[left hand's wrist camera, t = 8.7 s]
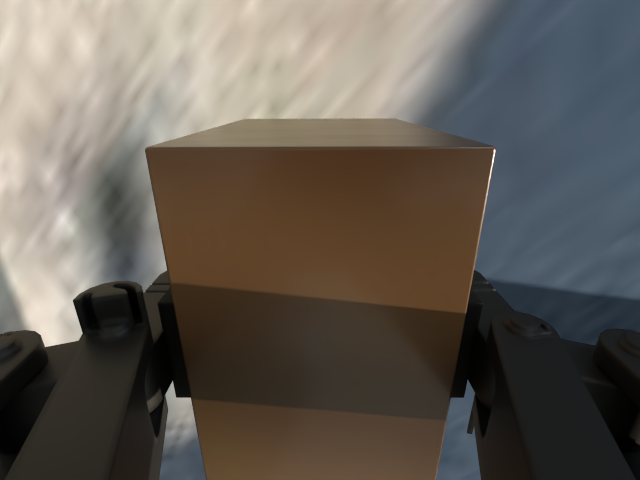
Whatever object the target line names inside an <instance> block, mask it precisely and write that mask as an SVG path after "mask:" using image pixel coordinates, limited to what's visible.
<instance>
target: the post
mask: <svg viewBox="0 0 640 480" xmlns="http://www.w3.org/2000/svg"><path fill="white" fill-rule="evenodd" d="M495 151H496V148H495V147H494V146H491V145H487V144H484V143H480V142H477V141H473V140H470V139H466V138H462V137H459V136H455V135H452V134H448V133H445V132H441V131H438V130H434V129H430V128H427V127H423V126H420V125H416V124H413V123H409V122H405V121H402V120H398V119H243V120H240V121H236V122H233V123H229V124H226V125H222V126H219V127H215V128H212V129H208V130H205V131H202V132H198V133H195V134H191V135H188V136H184V137H181V138H177V139H174V140H170V141H167V142H163V143H160V144H156V145H153V146H149V147H147V148H146V149H145V152H146V158H147V163H148V168H149V174H150V179H151V185H152V190H153V195H154V201H155V206H156V212H157V217H158V222H159V228H160V233H161V238H162V244H163V249H164V255H165V260H166V265H167V271H168V276H169V282H170V287H171V292H172V298H173V303H174V309H175V314H176V319H177V325H178V330H179V335H180V341H181V346H182V352H183V357H184V362H185V368H186V373H187V379H188V384H189V389H190V395H191V400H192V406H193V411H194V416H195V422H196V427H197V432H198V438H199V443H200V449H201V454H202V459H203V465H204V470H205V476H206V480H436V476H437V470H438V465H439V459H440V454H441V448H442V443H443V437H444V432H445V426H446V421H447V415H448V410H449V404H450V399H451V393H452V388H453V382H454V377H455V371H456V366H457V360H458V355H459V349H460V344H461V338H462V333H463V327H464V322H465V316H466V311H467V305H468V300H469V294H470V289H471V283H472V278H473V272H474V267H475V261H476V256H477V250H478V245H479V239H480V234H481V228H482V223H483V217H484V212H485V206H486V201H487V195H488V190H489V184H490V179H491V173H492V168H493V162H494V157H495Z"/></svg>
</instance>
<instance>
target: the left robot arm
mask: <svg viewBox="0 0 640 480" xmlns="http://www.w3.org/2000/svg"><path fill="white" fill-rule="evenodd" d="M73 303H74V306H75V309H76V312H77V316H78V319H79V322H80V326H81V329H82V332H83V334H82V336H81V338H80V340H79V341H76V342H70V343H65V344H60V345H55V346H49V347H45V346H44V343H43V341H42V338H41V335H40V334H38V333H37V332H35V331H27V330H23V331H15V332H7V333H4V334H0V480H159V475H160V467H161V460H162V452H163V444H164V437H165V429H166V421H167V413H168V407H167V401H166V396H165V394H166V392H167V390H168V388H169V386H170V384H171V383H172V381H173V383H174V388H175V393H176V397H191V395H190V389H189V384H188V379H187V373H186V368H185V362H184V357H183V352H182V346H181V341H180V335H179V330H178V325H177V319H176V314H175V309H174V303H173V298H172V292H171V287H170V282H169V276H168V271H166V272H164V273H162V274H160V275H159V277H158V278H157V279H156V280H155V281H154V282H153V283H152V285H150V286H149V288H148V289H147V290H146V293H143V290H142V286H141V285H139V284H138V283H136V282H131V281H115V282H110V283H105V284H101V285H98V286H95V287H92V288H90V289H88V290H86V291H84V292H82V293H81V294H79V295H78V296H77V297H76V298H75V299H74V300H73ZM467 380H469V382H470V384H471V386H472V388H473V390H474V392H475V396H474V401H473V406H472V410H471V415H470V419H469V424H468V430H467V433H469V434H472V432H473V427H474V428H475V436H476V443H477V451H478V459H479V466H480V474H481V480H640V332H639V333H638V332H637V331H632V330H623V329H608V330H605V331H603V332H602V333H600V336H599V339H598V342H597V344H596V346H594V345H589V344H584V343H578V342H573V341H568V340H563V339H560V337H559V335H558V333H557V332H556V331H555V330H554V329H553V327H552V326H551V325H549V324H548V323H546V322H545V321H543V320H542V319H539V318H537V317H534V316H532V315H530V314H525V313H521V312H516V311H514V310H513V309H512V308H511V307H510V305H509V304H508V303H507V302H506V301H505V300H504V299H503V298H502V297H501V296H500V294H499V293H498V292H497V291H495V289H494V288H493V287H492V286H491V285H490V284H488V281H487V280H486V279H485V278H484V277H483V276H482V275H481V274H480V273H479V272H477V271H475V270H474V272H473V278H472V283H471V289H470V294H469V300H468V305H467V311H466V316H465V322H464V327H463V333H462V338H461V344H460V349H459V355H458V360H457V366H456V371H455V377H454V382H453V388H452V393H451V397H464V394H465V389H466V385H467Z"/></svg>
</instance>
